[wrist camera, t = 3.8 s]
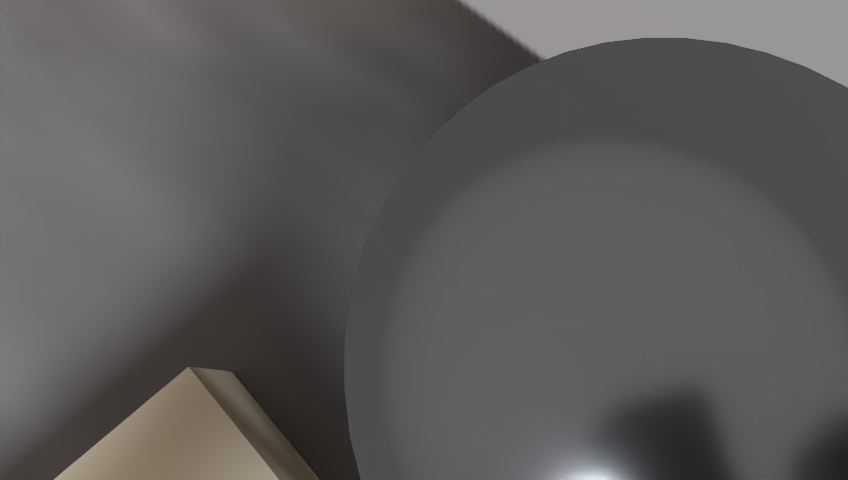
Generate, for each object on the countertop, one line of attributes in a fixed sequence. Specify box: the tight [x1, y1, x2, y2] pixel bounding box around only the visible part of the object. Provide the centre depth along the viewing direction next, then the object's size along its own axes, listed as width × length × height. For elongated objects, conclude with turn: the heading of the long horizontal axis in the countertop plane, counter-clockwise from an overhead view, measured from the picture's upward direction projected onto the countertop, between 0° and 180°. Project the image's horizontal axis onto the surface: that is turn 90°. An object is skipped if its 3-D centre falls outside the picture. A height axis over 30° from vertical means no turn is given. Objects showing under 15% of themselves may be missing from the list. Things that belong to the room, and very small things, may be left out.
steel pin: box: [344, 38, 848, 480], centre depth 10 cm, size 4×4×14 cm
